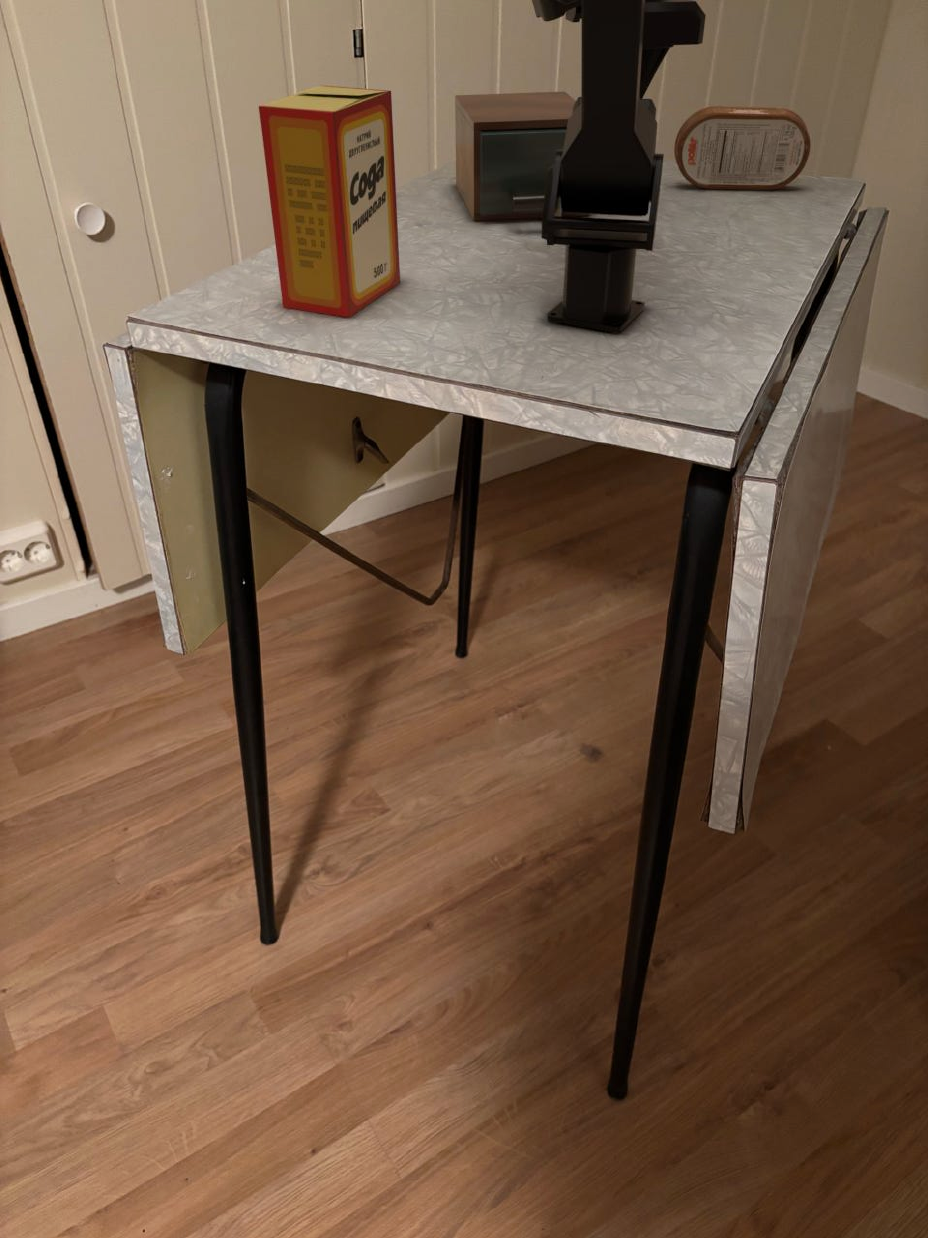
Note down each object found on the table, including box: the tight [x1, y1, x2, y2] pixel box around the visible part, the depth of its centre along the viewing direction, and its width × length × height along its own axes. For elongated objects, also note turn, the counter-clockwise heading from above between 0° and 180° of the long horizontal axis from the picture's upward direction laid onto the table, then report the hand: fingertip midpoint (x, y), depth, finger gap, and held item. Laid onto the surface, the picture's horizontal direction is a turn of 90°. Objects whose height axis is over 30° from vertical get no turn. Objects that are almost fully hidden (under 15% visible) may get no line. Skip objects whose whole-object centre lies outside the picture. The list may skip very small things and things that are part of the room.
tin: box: [673, 105, 812, 191], centre depth 112 cm, size 15×3×8 cm, turn 84°
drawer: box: [479, 127, 567, 215], centre depth 105 cm, size 18×11×8 cm, turn 8°
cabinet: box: [454, 91, 590, 222], centre depth 108 cm, size 15×13×10 cm
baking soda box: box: [258, 85, 401, 319], centre depth 82 cm, size 10×6×16 cm
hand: (620, 127), depth 85 cm, fingers closed
